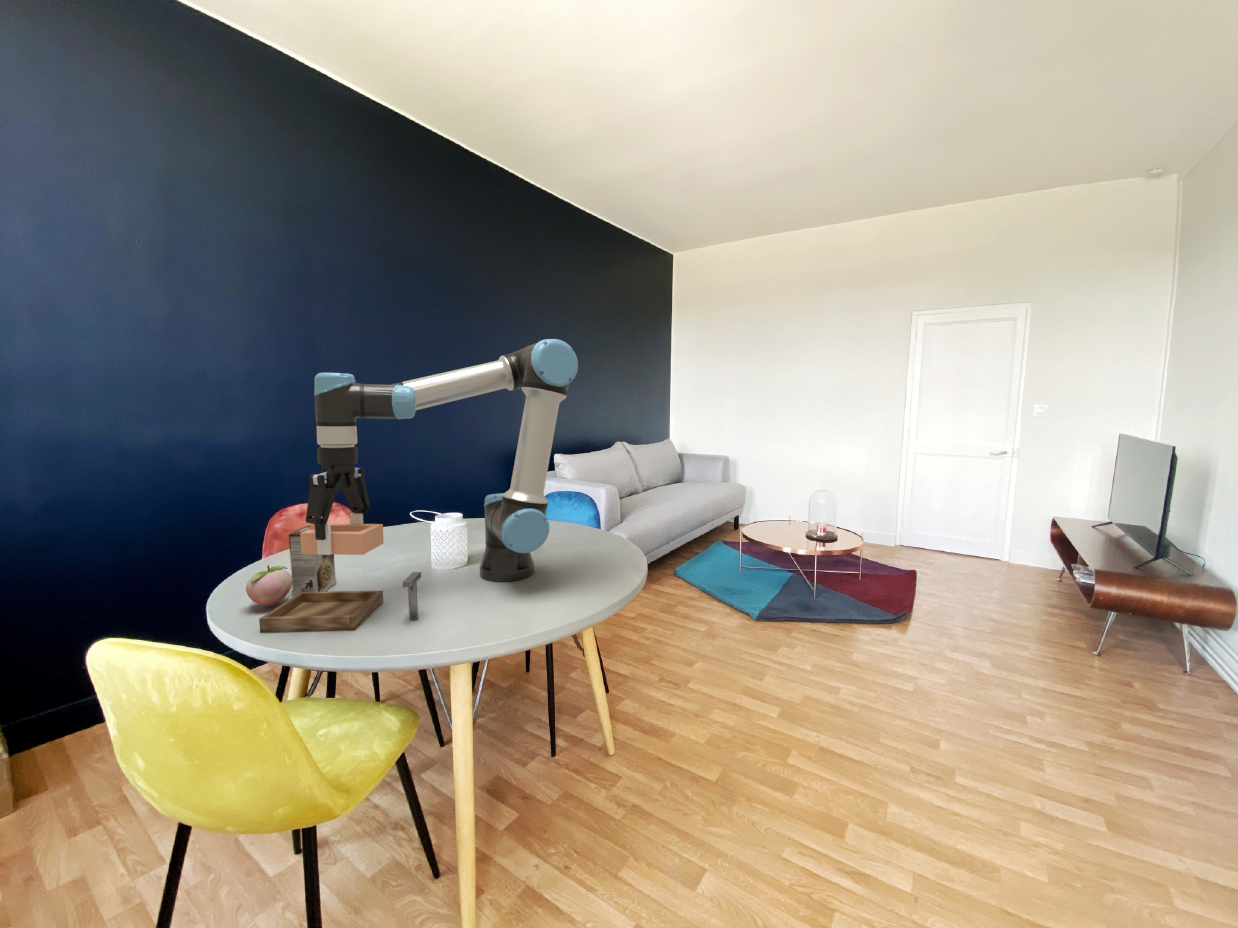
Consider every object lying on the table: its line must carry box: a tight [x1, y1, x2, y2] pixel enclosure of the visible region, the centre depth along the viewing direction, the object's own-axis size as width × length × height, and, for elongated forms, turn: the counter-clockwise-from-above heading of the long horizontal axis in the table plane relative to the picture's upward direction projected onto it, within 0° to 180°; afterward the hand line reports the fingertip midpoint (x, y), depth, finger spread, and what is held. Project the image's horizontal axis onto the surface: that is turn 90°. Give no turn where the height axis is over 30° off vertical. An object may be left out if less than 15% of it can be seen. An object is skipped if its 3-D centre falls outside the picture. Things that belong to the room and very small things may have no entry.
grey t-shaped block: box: [402, 571, 422, 622], centre depth 109 cm, size 2×6×10 cm, turn 4°
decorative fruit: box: [245, 564, 293, 607], centre depth 115 cm, size 9×8×10 cm
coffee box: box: [288, 524, 337, 597], centre depth 125 cm, size 9×6×16 cm
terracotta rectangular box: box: [300, 522, 384, 556], centre depth 108 cm, size 13×9×6 cm
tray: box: [258, 590, 384, 634], centre depth 110 cm, size 19×15×3 cm
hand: (341, 547), depth 108 cm, fingers closed on terracotta rectangular box, 9 cm apart
